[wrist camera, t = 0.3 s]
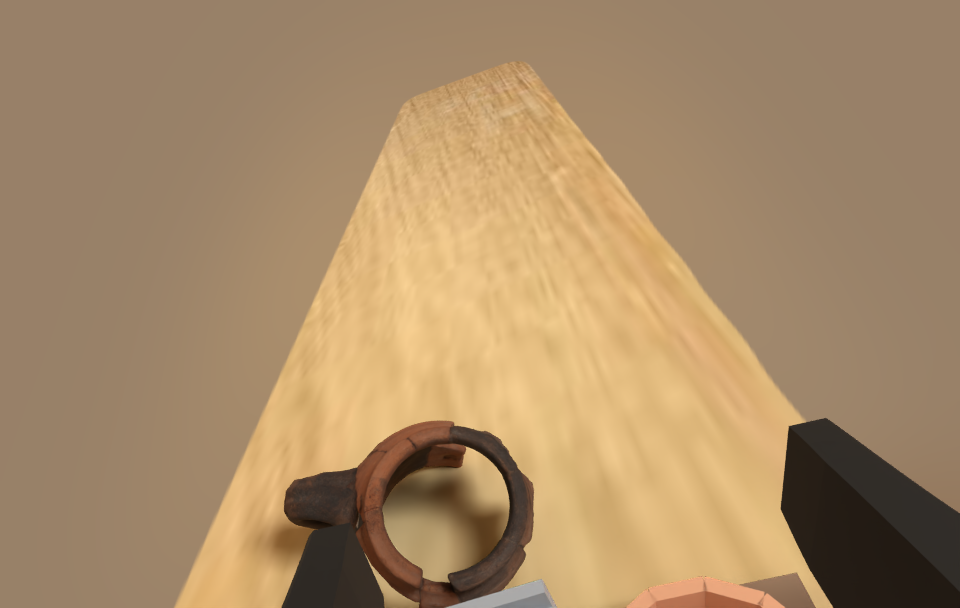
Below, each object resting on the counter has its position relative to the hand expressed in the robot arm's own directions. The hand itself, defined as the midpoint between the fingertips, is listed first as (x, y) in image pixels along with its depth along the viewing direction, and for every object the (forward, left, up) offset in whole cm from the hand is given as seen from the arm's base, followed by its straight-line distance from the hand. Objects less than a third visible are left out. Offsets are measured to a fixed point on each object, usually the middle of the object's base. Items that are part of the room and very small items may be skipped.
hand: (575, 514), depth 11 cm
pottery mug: (+15, +7, -21) cm, 26 cm away
